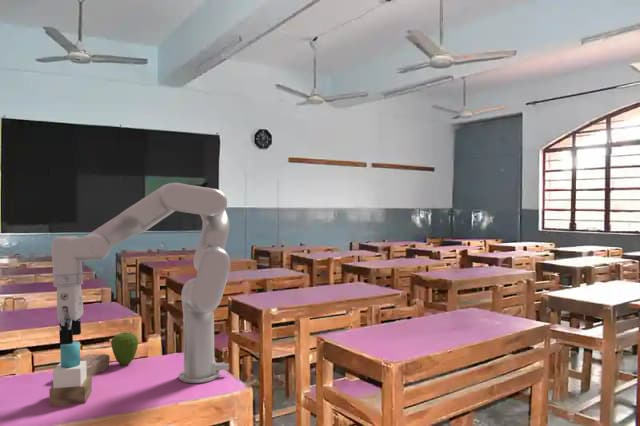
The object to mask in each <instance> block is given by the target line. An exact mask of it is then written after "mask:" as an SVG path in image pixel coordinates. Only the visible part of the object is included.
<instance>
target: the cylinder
mask: <svg viewBox="0 0 640 426" xmlns="http://www.w3.org/2000/svg"><path fill="white" fill-rule="evenodd" d="M59 346H60V347H59V348H60V350H59V351H60V363H61V367H62V368H71V367H76V366H78V365H80V358H81V342H80V341H73V343H72V344H64V345H61V344H60V345H59Z"/></svg>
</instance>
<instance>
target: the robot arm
mask: <svg viewBox="0 0 640 426" xmlns="http://www.w3.org/2000/svg"><path fill="white" fill-rule="evenodd" d="M227 207H228V199H227V196H226V195H225V193H223V192H222V191H221V190H220V189H217V188H212V187H205V186H200V185H191V184H186V183H181V182H170V183H166V184H163V185H162V186H160V187H159V188H157V189H156V190H155V191H154V190H153V191H152V192H151V193H149V194H148V195H146V196H144V197H143V198H141V199H140V200H139V201H137V202H136V203H135V204H134V203H133V204H132V205H130V206H128V208H126V209H125V210H123V211H122V212H120V213H119V214H118V215H116V216H115V217H113V218H112V219H110V220H108V221H107V222H105V223H104V224H102V225H101V226H98V227H97V228H96V229H95V230H92V232H90V233H88V234H87V235H86V236H76V235H69V236H68V235H64V236H57V237H54V238H52V240H51V255H52V257H51V258H52V277H53V278H52V280H53V281H52V284H53V287H54V288H56V313H57V320H58V322H59V323H58V324H59V328H58V330H59V334H58V335H59V344H60V345H64V344H72V343H73V342H74V336H78V335H79V336H80V335H81V334H82V325H81V323H82V322H81V317H82V316H83V315H84V314H85V313H84V311H85V310H84V301H83V299H84V298H83V291H82V285H83V284H84V279H83V277H84V275H83V274H84V273H83V261H87V262H88V261H89V262H90V261H91V262H92V261H93V262H97V261H98V262H99V261H102V260H104V259H106V258H107V257H108V256H110V253H111V250H112V249H113V248H115V247H116V246H118V245H119V244H121V243H122V242H124V241H125V240H128V239H129V238H131V237H133V236H137V235H140V234H143V233H144V232H146V231H148V230H149V229H151V228H152V227H153V226H155V225H157V224H158V223H160V222H161V221H162V220H164V219H166V218H167V217H169V216H170V215H172V214H173V213H174V212H181V213H188V214H194V215H199V216H200V218H201V221H202V223H201V224H202V226H201V227H202V228H201V231H200V232H201V233H200V236H199V239H198V243H197V247H196V250H195V253H194V256H193V260H192V261H193V266H194V269H195V270H196V271H197V273H196V277H192V278H190V279H188V280H187V281H186V282H185V283H184V285H183V287H182V289H181V295H180V296H181V297H180V298H181V307H182V317H183V319H182V320H183V329H182V330H183V333H182V335H183V370H182V371H180V373H179V375H178V378H179V380H180V381H181V382H184V383H187V384H200V383H207V382H210V381H211V382H212V381H213V380H216V379H217V378H219V376H220V371H227V370H228V371H229V370H230V363H225V362H224V361H223V362H216V358H215V320H214V319H215V318H214V317H215V315H214V312H215V310H216V309H217V308H218V306H219V305H221V302H222V299H223V295H224V293H225V290H226V285H227V282H228V278H229V275H230V271H231V258H230V256H229V254H228V252H227V251H226V250H225V249H226V245H227V241H228V237H229V231H230V219H229V216H228V213H227V210H226V209H227Z"/></svg>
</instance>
